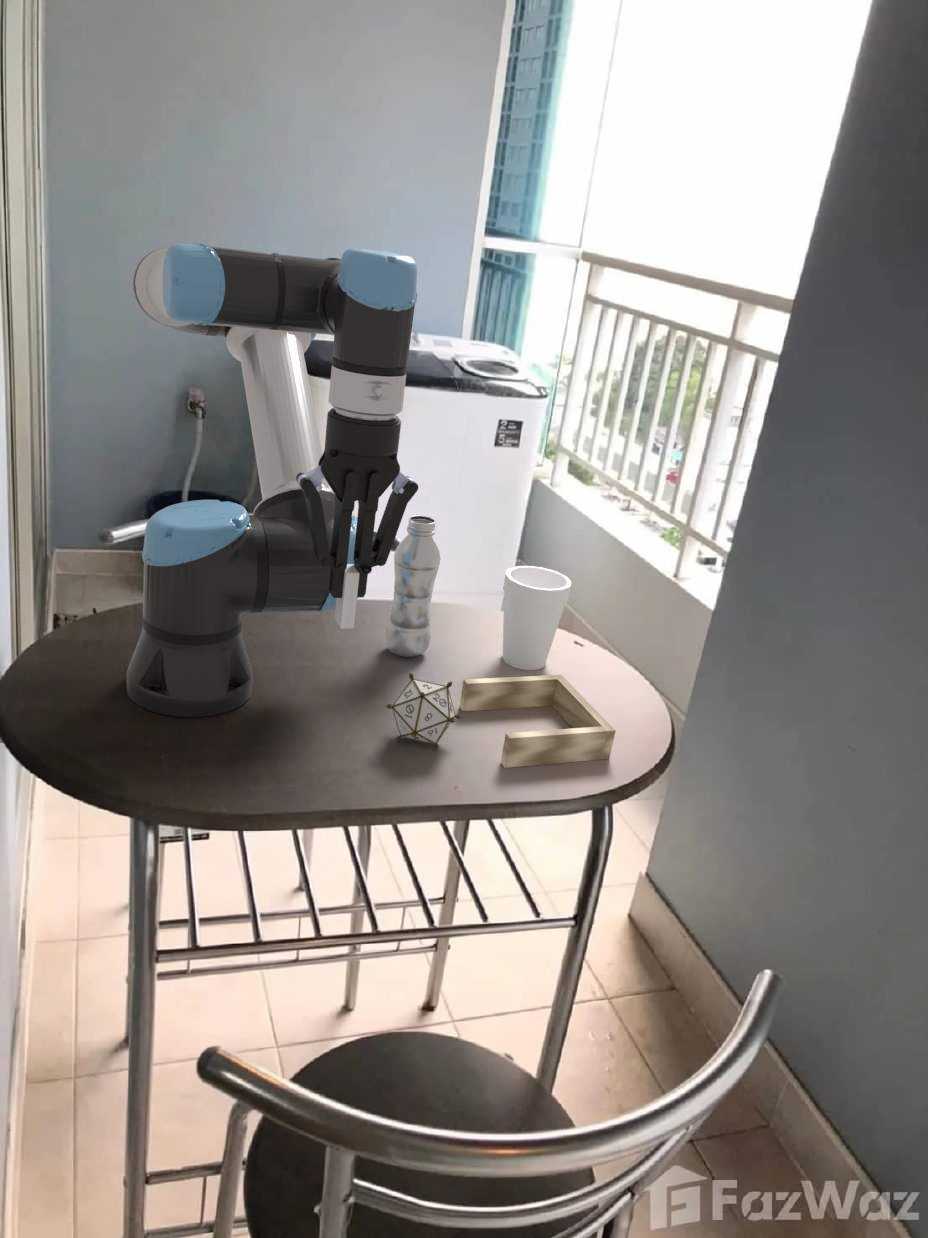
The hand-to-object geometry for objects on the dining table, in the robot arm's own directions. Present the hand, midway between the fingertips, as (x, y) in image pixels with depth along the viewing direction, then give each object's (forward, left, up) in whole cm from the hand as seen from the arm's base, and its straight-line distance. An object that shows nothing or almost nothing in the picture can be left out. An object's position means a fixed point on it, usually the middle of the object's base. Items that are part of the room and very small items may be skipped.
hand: (344, 623), depth 111 cm
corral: (+25, 0, -16) cm, 30 cm away
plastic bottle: (+17, +24, -16) cm, 34 cm away
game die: (+11, 0, -16) cm, 20 cm away
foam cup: (+34, +20, -16) cm, 43 cm away
